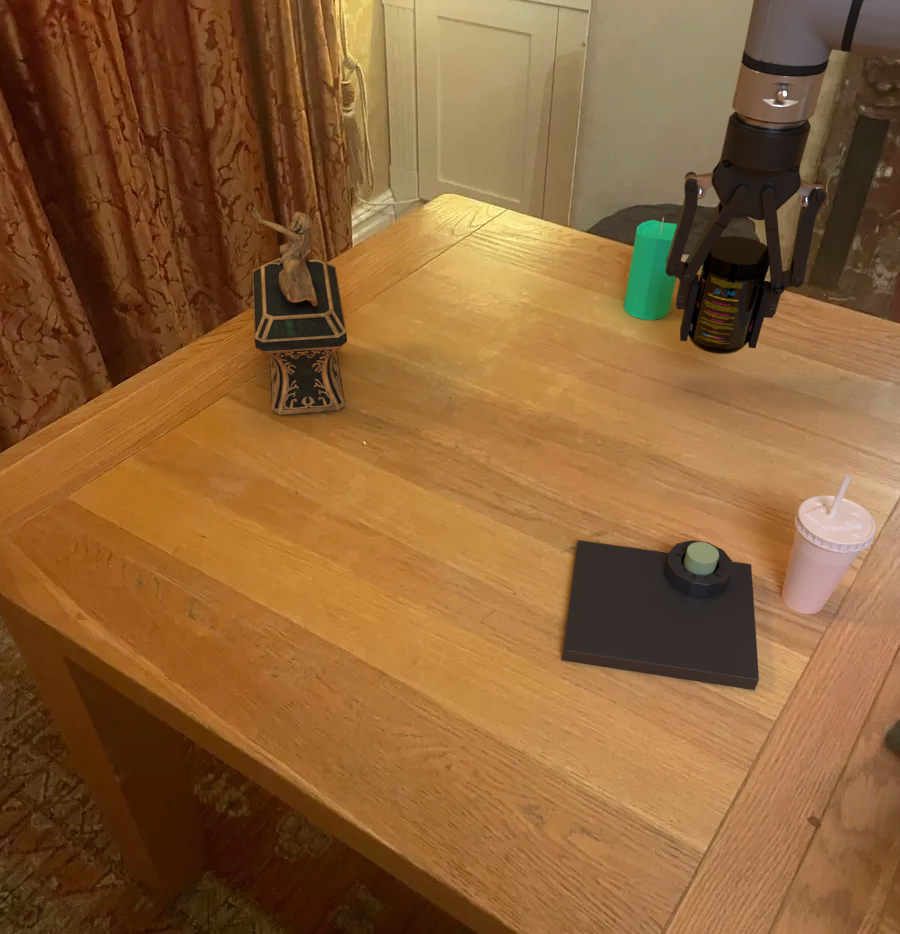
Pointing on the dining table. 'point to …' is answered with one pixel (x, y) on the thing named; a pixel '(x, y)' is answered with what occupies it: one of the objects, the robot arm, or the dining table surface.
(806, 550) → the smoothie
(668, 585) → the scale
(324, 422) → the dining table surface
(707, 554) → the button
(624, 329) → the dining table surface
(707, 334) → the supplement container
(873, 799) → the dining table surface
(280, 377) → the decorative box
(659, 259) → the candle
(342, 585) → the dining table surface
